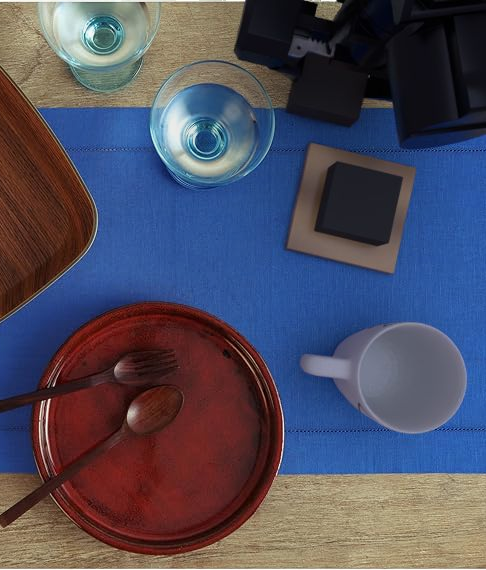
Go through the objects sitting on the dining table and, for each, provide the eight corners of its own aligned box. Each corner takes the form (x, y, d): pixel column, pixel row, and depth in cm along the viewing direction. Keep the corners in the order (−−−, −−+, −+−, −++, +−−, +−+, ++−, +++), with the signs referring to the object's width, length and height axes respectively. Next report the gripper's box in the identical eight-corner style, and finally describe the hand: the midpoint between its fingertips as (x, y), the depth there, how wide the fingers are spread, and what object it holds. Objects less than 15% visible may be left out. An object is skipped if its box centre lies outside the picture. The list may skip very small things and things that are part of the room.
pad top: (299, 49, 56) (307, 37, 54) (363, 65, 56) (373, 53, 54) (285, 112, 56) (291, 103, 53) (349, 128, 56) (359, 119, 54)
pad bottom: (328, 167, 56) (336, 160, 54) (391, 182, 56) (403, 176, 54) (313, 231, 56) (321, 227, 53) (377, 246, 56) (389, 243, 53)
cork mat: (307, 145, 57) (310, 141, 56) (412, 170, 57) (417, 167, 56) (284, 249, 57) (286, 248, 56) (389, 274, 57) (394, 274, 56)
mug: (280, 404, 56) (311, 424, 46) (289, 312, 57) (322, 311, 47) (405, 418, 56) (463, 440, 46) (413, 325, 57) (472, 327, 47)
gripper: (570, -91, 40) (448, 23, 56) (290, -160, 40) (246, -26, 55) (535, 73, 39) (422, 142, 55) (251, 4, 39) (218, 92, 55)
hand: (328, 84), depth 55 cm, fingers closed on pad top, 6 cm apart
